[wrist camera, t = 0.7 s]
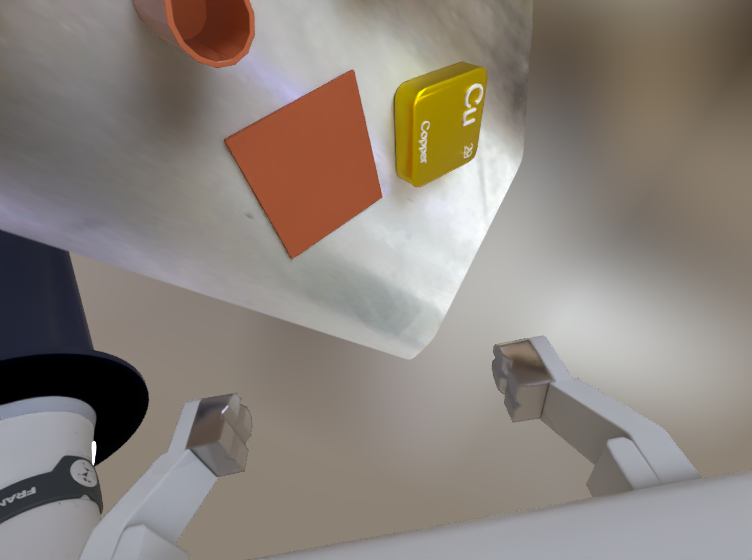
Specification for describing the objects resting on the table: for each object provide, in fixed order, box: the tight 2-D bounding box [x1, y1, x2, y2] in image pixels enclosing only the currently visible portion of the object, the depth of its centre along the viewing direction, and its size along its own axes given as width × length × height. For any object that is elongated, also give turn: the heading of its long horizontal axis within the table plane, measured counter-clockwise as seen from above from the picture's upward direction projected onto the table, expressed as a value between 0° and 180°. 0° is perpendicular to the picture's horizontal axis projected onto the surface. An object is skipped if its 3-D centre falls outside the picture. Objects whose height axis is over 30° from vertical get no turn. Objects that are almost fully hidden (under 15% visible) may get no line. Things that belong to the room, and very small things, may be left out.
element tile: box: [395, 62, 487, 187], centre depth 57 cm, size 15×15×5 cm
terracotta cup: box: [133, 0, 255, 68], centre depth 28 cm, size 6×6×10 cm
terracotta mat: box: [224, 70, 382, 259], centre depth 50 cm, size 18×20×1 cm
